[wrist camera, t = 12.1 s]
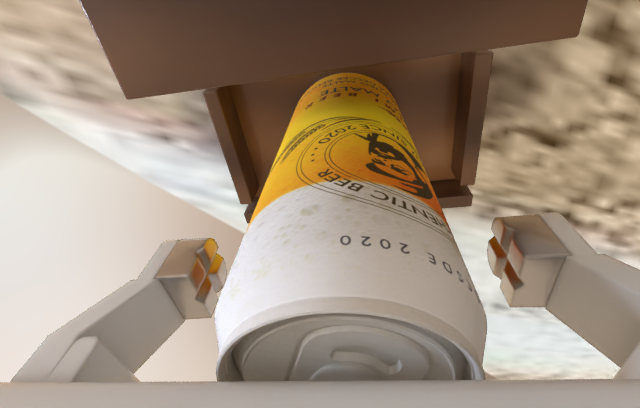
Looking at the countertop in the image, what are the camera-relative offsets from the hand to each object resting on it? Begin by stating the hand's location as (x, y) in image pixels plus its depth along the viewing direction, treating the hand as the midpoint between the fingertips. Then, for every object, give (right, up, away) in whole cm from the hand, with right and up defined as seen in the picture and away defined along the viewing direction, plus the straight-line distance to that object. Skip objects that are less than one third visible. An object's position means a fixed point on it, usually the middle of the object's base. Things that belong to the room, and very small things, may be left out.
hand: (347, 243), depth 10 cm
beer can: (+1, +6, +9) cm, 11 cm away
